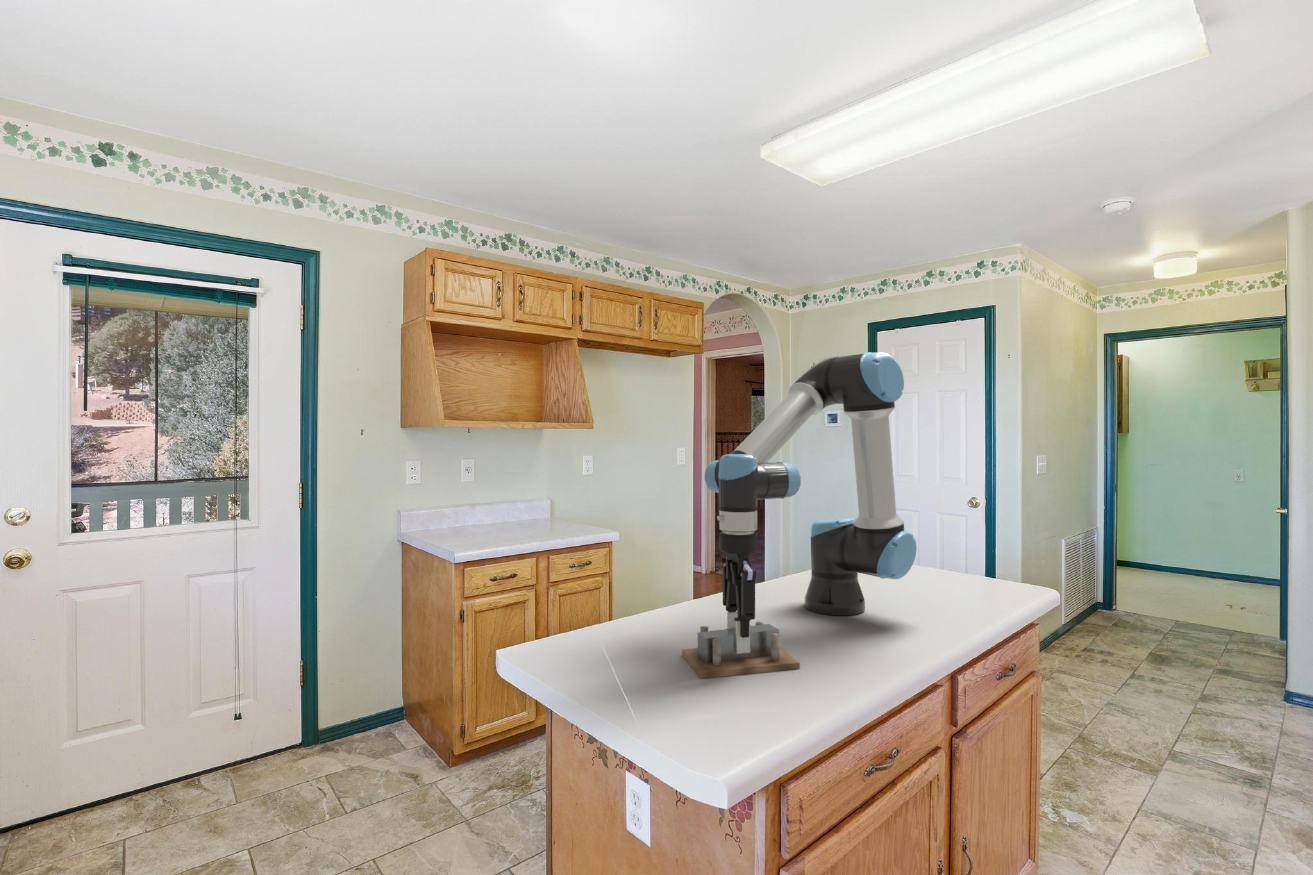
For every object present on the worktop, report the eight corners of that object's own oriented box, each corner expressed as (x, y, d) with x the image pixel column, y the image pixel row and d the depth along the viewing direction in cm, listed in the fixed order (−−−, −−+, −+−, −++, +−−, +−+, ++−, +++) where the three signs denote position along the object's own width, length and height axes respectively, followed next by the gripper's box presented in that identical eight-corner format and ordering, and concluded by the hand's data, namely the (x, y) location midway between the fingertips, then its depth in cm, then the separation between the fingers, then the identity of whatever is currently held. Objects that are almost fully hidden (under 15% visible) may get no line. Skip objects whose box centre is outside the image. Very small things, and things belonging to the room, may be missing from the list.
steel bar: (769, 647, 133) (768, 623, 133) (778, 654, 129) (778, 629, 129) (697, 657, 128) (697, 632, 128) (705, 664, 124) (705, 638, 124)
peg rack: (772, 646, 137) (772, 617, 137) (799, 668, 124) (799, 636, 124) (682, 655, 132) (682, 625, 132) (700, 678, 120) (700, 645, 120)
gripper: (706, 526, 136) (707, 636, 136) (735, 539, 119) (735, 665, 119) (740, 524, 138) (740, 633, 138) (773, 537, 121) (773, 661, 121)
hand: (738, 648), depth 128 cm, fingers closed on steel bar, 4 cm apart
